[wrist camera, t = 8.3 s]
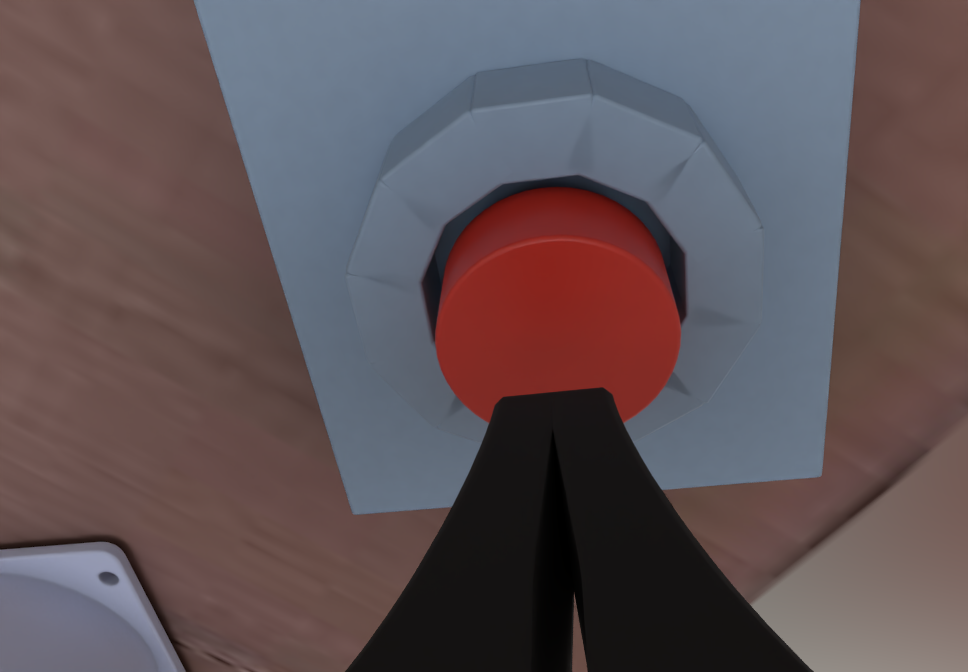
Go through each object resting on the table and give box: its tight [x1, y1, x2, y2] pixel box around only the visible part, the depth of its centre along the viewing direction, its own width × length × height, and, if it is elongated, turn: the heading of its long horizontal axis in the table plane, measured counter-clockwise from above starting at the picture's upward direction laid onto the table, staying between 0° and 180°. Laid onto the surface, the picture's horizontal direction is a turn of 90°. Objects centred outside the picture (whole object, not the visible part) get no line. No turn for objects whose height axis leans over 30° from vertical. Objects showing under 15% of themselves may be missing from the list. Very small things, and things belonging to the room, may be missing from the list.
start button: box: [435, 187, 681, 423], centre depth 14 cm, size 4×4×2 cm
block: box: [194, 0, 861, 515], centre depth 16 cm, size 12×10×4 cm
